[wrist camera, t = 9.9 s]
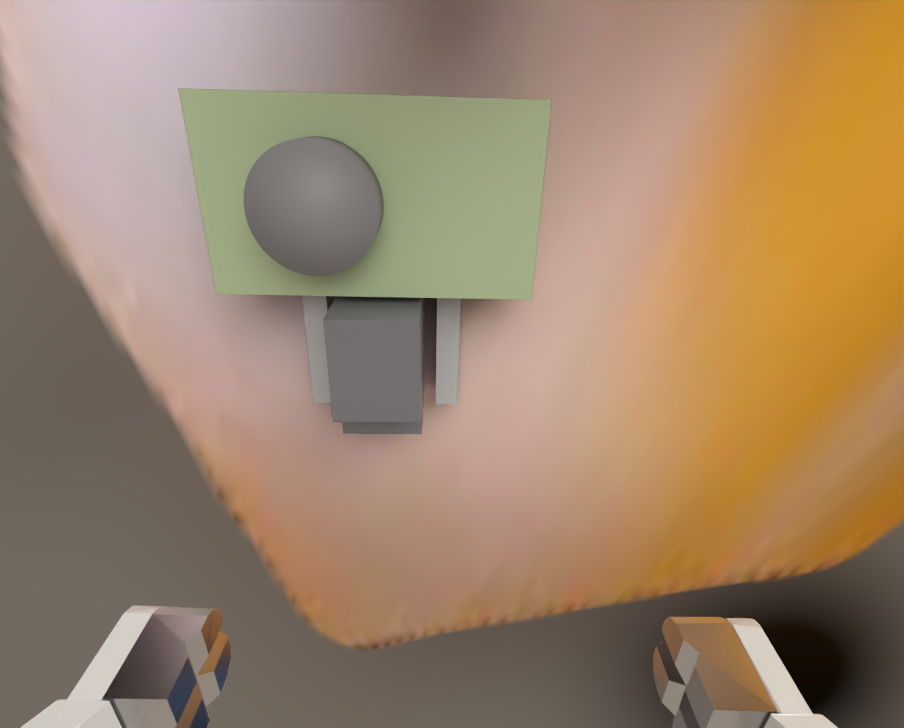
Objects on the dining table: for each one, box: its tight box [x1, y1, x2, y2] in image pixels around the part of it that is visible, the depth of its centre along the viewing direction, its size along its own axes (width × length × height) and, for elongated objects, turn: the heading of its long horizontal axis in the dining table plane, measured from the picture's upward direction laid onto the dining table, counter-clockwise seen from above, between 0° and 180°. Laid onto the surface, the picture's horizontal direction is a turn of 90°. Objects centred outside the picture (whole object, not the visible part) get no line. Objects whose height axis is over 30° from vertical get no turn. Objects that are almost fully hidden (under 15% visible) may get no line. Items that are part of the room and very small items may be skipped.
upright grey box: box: [323, 296, 424, 434], centre depth 26 cm, size 4×7×7 cm, turn 179°
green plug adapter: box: [178, 88, 552, 404], centre depth 24 cm, size 14×15×7 cm
